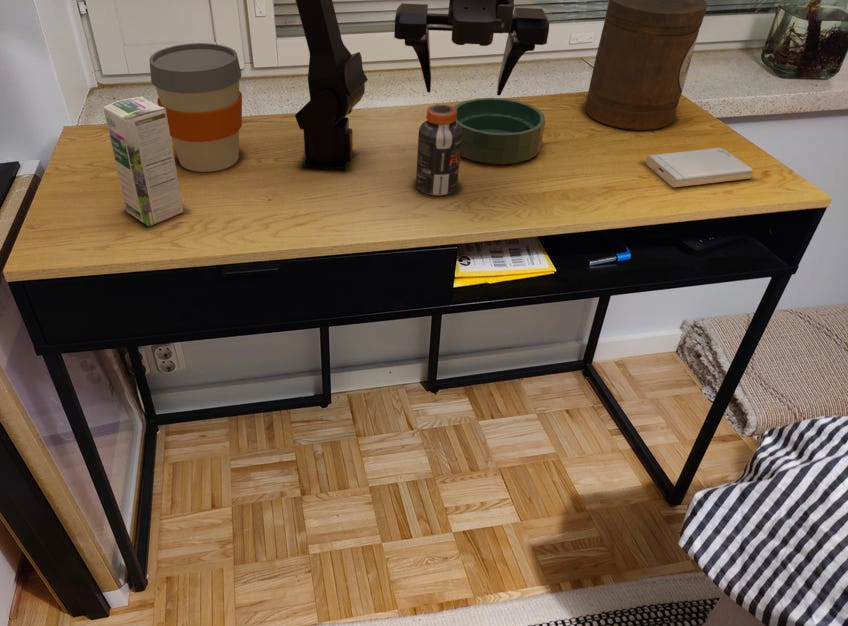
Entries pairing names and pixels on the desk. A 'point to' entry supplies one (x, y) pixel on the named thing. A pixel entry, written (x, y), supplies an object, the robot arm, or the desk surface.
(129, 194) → the syrup box
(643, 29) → the wooden container
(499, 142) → the bowl
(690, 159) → the hard drive
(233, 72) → the reusable coffee cup
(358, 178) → the desk surface
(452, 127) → the pill bottle
